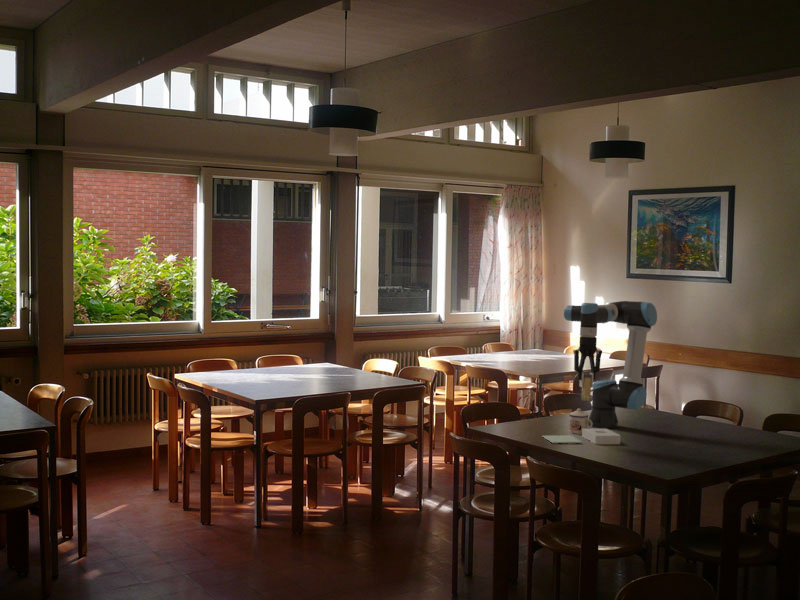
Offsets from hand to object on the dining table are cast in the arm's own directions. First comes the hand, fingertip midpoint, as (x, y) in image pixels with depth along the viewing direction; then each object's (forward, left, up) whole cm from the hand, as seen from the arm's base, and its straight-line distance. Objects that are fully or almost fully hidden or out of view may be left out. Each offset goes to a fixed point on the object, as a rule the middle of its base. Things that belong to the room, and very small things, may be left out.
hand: (586, 386), depth 377 cm
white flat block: (0, +8, -25) cm, 26 cm away
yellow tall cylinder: (0, 0, -6) cm, 6 cm away
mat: (0, -11, -25) cm, 27 cm away
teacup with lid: (-17, +5, -25) cm, 31 cm away
